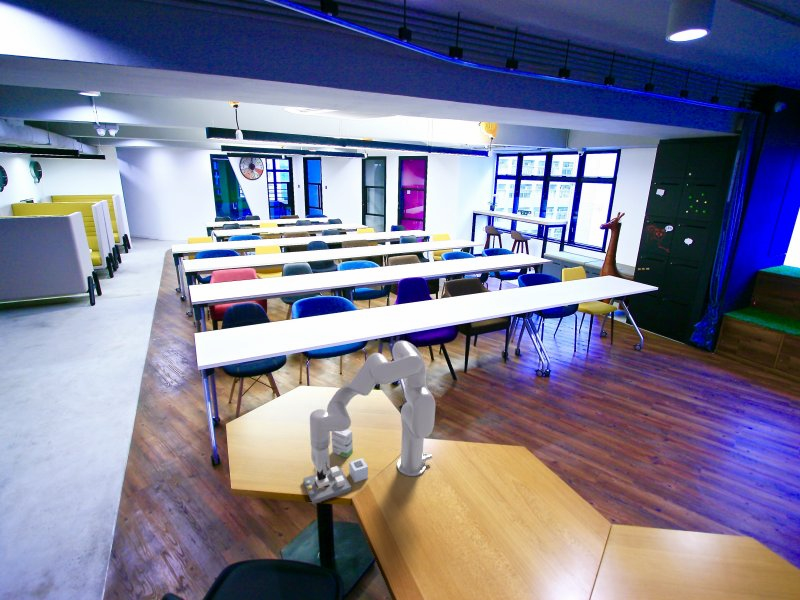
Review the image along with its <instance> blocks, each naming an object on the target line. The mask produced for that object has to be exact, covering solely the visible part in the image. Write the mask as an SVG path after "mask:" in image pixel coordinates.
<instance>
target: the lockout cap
mask: <svg viewBox="0 0 800 600" xmlns="http://www.w3.org/2000/svg"><path fill="white" fill-rule="evenodd" d="M348 469H349V475H350V477H351V479H352V480H353V482H354V483H358V482H360V481H363V480H366V479H368V478H369V466H368V464H367V463H366V460H365V459H364V458H363V457H361V458H358V459H354V460H351V461H349V468H348Z"/></svg>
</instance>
